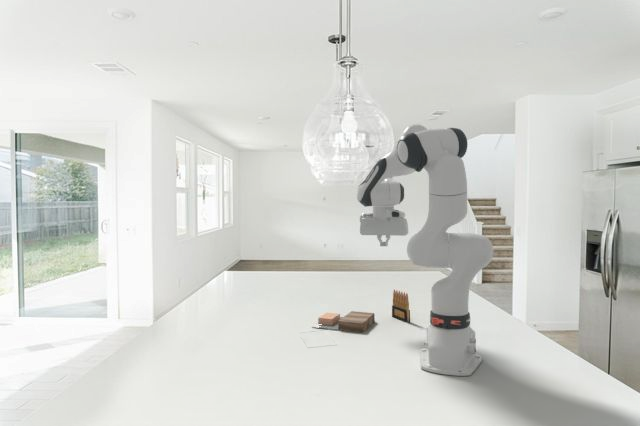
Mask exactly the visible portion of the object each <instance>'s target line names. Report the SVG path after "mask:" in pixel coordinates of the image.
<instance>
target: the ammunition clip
mask: <svg viewBox="0 0 640 426" xmlns="http://www.w3.org/2000/svg"><path fill="white" fill-rule="evenodd" d="M391 317H392V318H394V319H397V320H399V321H401V322H404V323H405V324H406V323H407V324H408V323H411V310H410V302H409V295H408V292H405V291H404V292H403V291H400V290H398V289H397V290H396V289H393V292H392V305H391Z"/></svg>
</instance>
